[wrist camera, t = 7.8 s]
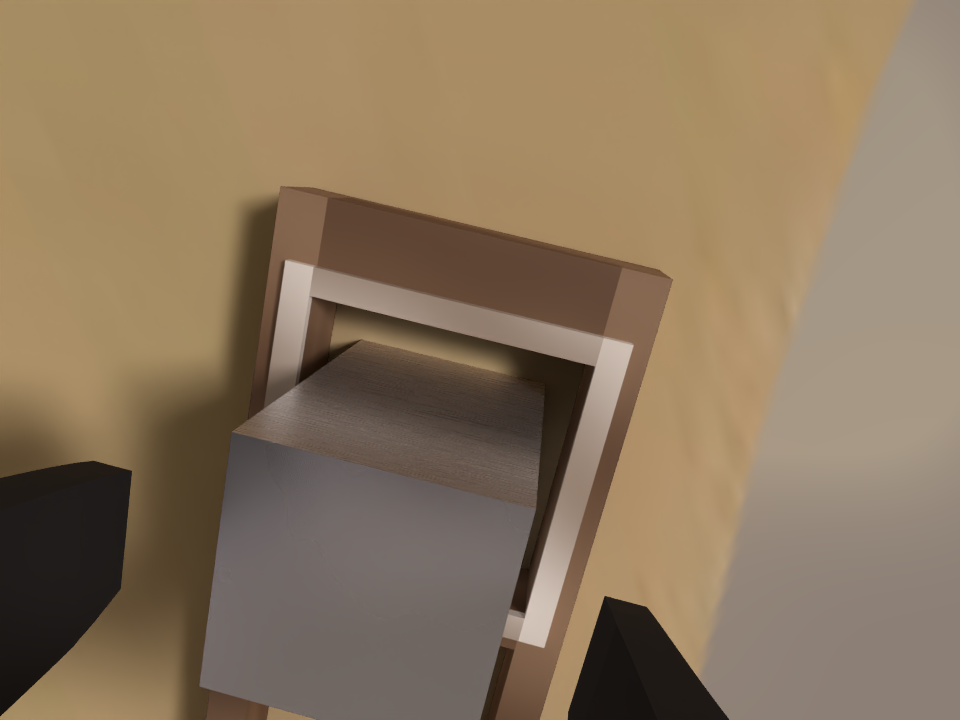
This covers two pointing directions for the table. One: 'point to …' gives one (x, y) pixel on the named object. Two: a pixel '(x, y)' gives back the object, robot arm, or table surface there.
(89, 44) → the table surface
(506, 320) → the brown wooden compartment tray
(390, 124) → the table surface
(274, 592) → the block
